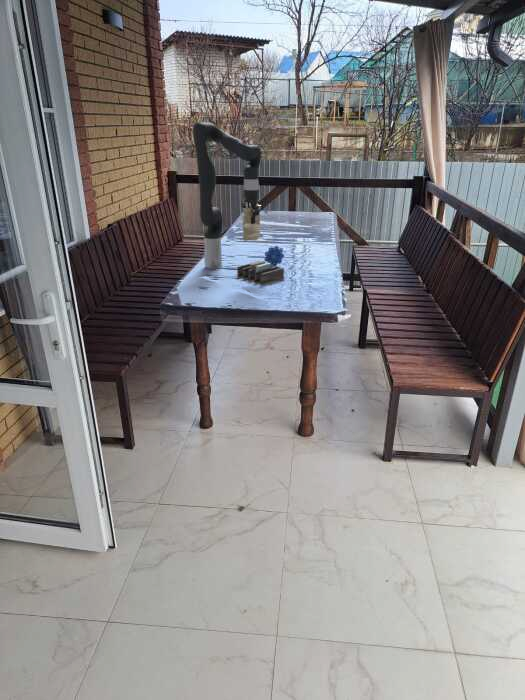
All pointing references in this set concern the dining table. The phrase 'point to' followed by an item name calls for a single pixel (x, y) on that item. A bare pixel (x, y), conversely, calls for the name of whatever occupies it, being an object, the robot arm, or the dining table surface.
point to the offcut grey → (263, 266)
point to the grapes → (274, 255)
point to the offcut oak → (253, 265)
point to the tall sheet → (250, 225)
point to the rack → (260, 274)
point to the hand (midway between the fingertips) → (251, 223)
